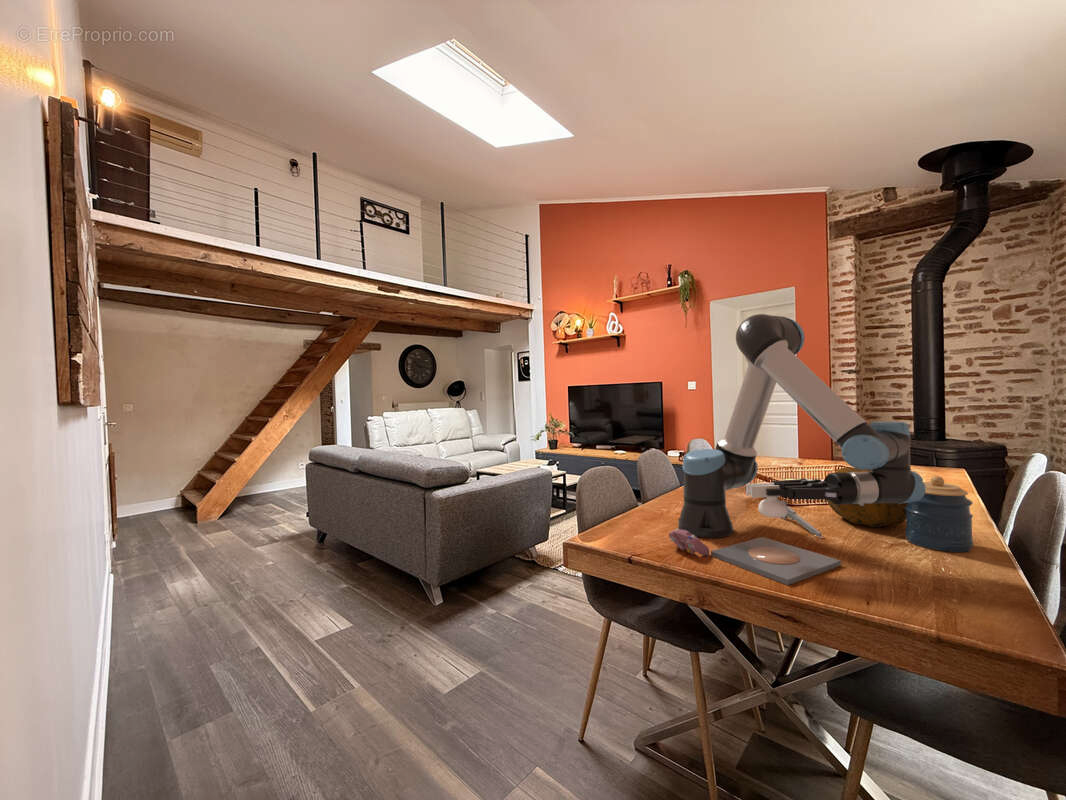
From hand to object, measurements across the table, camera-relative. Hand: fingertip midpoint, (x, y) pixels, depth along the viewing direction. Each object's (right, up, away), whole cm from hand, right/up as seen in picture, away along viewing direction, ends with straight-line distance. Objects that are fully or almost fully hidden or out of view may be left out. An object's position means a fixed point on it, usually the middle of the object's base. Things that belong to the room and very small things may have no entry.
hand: (749, 490), depth 108 cm
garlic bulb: (+6, -6, 0) cm, 8 cm away
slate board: (+6, -17, 0) cm, 18 cm away
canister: (+53, -16, +8) cm, 56 cm away
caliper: (+27, -16, +24) cm, 40 cm away
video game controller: (-12, -18, +8) cm, 23 cm away
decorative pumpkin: (+49, -15, +27) cm, 58 cm away
